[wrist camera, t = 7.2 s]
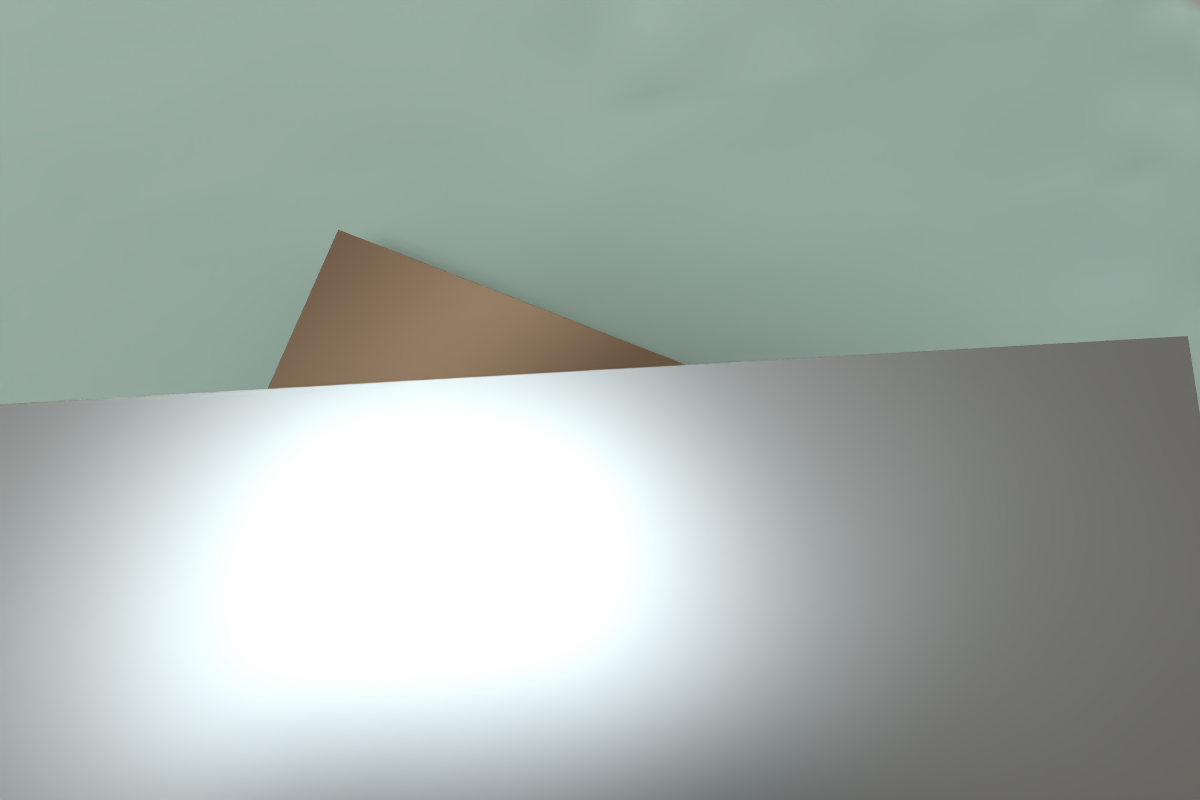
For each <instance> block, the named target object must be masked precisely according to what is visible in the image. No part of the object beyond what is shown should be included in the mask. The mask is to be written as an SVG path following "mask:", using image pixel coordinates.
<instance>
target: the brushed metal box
mask: <svg viewBox="0 0 1200 800" xmlns="http://www.w3.org/2000/svg"><path fill="white" fill-rule="evenodd" d="M0 800H1200V413H1199V406H1198V400H1197V393H1196V387H1195V380H1194V374H1193V367H1192V361H1191V354H1190V348H1189V341H1188V336H1183V337H1166V338H1149V339H1131V340H1114V341H1096V342H1079V343H1062V344H1044V345H1027V346H1009V347H992V348H974V349H957V350H940V351H922V352H905V353H887V354H870V355H853V356H835V357H818V358H800V359H783V360H765V361H748V362H731V363H713V364H696V365H678V366H661V367H644V368H626V369H609V370H591V371H574V372H556V373H539V374H522V375H504V376H487V377H469V378H452V379H435V380H417V381H400V382H382V383H365V384H347V385H330V386H313V387H295V388H278V389H260V390H243V391H225V392H208V393H191V394H173V395H156V396H138V397H121V398H104V399H86V400H69V401H51V402H34V403H17V404H0Z"/></svg>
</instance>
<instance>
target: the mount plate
mask: <svg viewBox="0 0 1200 800" xmlns="http://www.w3.org/2000/svg"><path fill="white" fill-rule="evenodd" d="M678 365H685V364H682V363H679V362H677V361H674V360H672V359H669V358H667V357H664V356H661V355H659V354H656V353H654V352H651V351H649V350H646V349H643V348H641V347H638V346H636V345H633V344H631V343H628V342H625V341H623V340H620V339H618V338H615V337H613V336H610V335H608V334H605V333H602V332H600V331H597V330H595V329H592V328H590V327H587V326H584V325H582V324H579V323H577V322H574V321H572V320H569V319H566V318H564V317H561V316H559V315H556V314H554V313H551V312H548V311H546V310H543V309H541V308H538V307H536V306H533V305H530V304H528V303H525V302H523V301H520V300H518V299H515V298H512V297H510V296H507V295H505V294H502V293H500V292H497V291H494V290H492V289H489V288H487V287H484V286H482V285H479V284H476V283H474V282H471V281H469V280H466V279H464V278H461V277H458V276H456V275H453V274H451V273H448V272H446V271H443V270H441V269H438V268H435V267H433V266H430V265H428V264H425V263H423V262H420V261H417V260H415V259H412V258H410V257H407V256H405V255H402V254H399V253H397V252H394V251H392V250H389V249H387V248H384V247H381V246H379V245H376V244H374V243H371V242H369V241H366V240H363V239H361V238H358V237H356V236H353V235H351V234H348V233H345V232H343V231H340V230H338V232H337V234H336V236H335V239H334V241H333V243H332V245H331V248H330V250H329V252H328V254H327V257H326V259H325V261H324V263H323V266H322V268H321V270H320V272H319V275H318V277H317V279H316V281H315V284H314V286H313V288H312V290H311V293H310V295H309V297H308V299H307V302H306V304H305V306H304V308H303V311H302V313H301V315H300V317H299V320H298V322H297V324H296V326H295V329H294V331H293V333H292V335H291V338H290V340H289V342H288V344H287V347H286V349H285V351H284V353H283V356H282V358H281V360H280V362H279V365H278V367H277V369H276V372H275V374H274V376H273V378H272V381H271V383H270V385H269V387H268V389H278V388H295V387H313V386H330V385H347V384H365V383H382V382H400V381H417V380H435V379H452V378H469V377H487V376H504V375H522V374H539V373H556V372H574V371H591V370H609V369H626V368H644V367H661V366H678Z"/></svg>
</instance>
